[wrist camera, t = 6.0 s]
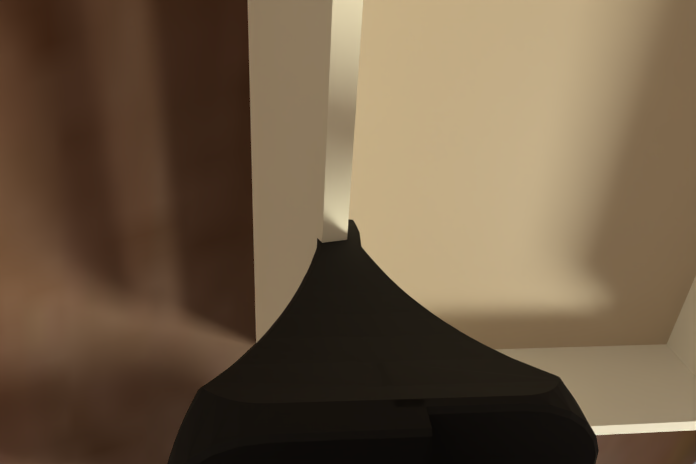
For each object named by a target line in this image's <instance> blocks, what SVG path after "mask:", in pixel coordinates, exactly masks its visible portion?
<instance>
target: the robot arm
mask: <svg viewBox="0 0 696 464" xmlns="http://www.w3.org/2000/svg"><path fill="white" fill-rule="evenodd" d="M597 455H598V445H597V438H596V435H595V433H594V431H593V429H592V428H591V426H590V424H589V423H588V421H587V419H586V417H585V415H584V414H583V412H582V410H581V408H580V407H579V405H578V403H577V402H576V400H575V398H574V397H573V396H572V394H571V393H570V391H569V390H568V388H567V387H566V386H565V384H564V383H563V381H562V380H561V378H560V377H559V376H556V375H554V374H551V373H549V372H546V371H544V370H541V369H538V368H536V367H533V366H531V365H528V364H526V363H523V362H521V361H518V360H516V359H513V358H511V357H509V356H507V355H505V354H503V353H500V352H498V351H496V350H494V349H492V348H490V347H488V346H486V345H484V344H482V343H480V342H478V341H477V340H475V339H473V338H471V337H469V336H468V335H466V334H464V333H462V332H461V331H459V330H458V329H456V328H454V327H453V326H451V325H449V324H448V323H446V322H445V321H443V320H441V319H440V318H439V317H437V316H436V315H434V314H433V313H431V312H430V311H429V310H427V309H426V308H425V307H423V306H422V305H421V304H419V303H418V302H417V301H416V300H414V299H413V298H412V297H410V296H409V295H408V294H407V293H406V292H404V291H403V290H402V289H401V288H400V287H399V286H398V285H397V284H396V283H395V282H394V281H392V280H391V279H390V278H389V277H388V276H387V275H386V274H385V273H384V272H383V270H382V269H381V268H380V267H379V266H378V265H377V264H376V263H375V262H374V261H373V259H372V258H371V257H370V256H369V255H368V254H367V253H366V251H365V250H364V249H363V248H362V246H361V239H360V232H359V230H358V228H357V226H356V224H355V222H354V221H353V220H349V219H348V234H347V240H341V241H333V242H324V243H322V242H321V241H320V240H319V239H318V238H317V249H316V251H315V254H314V256H313V259H312V262H311V264H310V266H309V269H308V271H307V273H306V275H305V276H304V278H303V280H302V282H301V284H300V286H299V288H298V290H297V291H296V293H295V295H294V296H293V298H292V299H291V301H290V302H289V304H288V305H287V307H286V308H285V310H284V311H283V312H282V314H281V315H280V316H279V317H278V319H277V320H276V321H275V322H274V324H273V325H272V326H271V327H270V329H269V330H268V331H267V332H266V333H265V334H264V335H263V336H262V338H261V339H260V340H259V341H258V342H257V343H256V344H255V345H253V346H252V347H251V348H250V349H249V350H248V351H247V352H246V353H245V354H244V355H243V356H242V357H241V358H240V359H239V360H238V361H237V362H235V363H234V364H233V365H232V366H231V367H229V368H228V369H227V370H225V371H224V372H223V373H221V374H220V375H219V376H217V377H216V378H214V379H213V380H212V381H210V382H209V383H207V384H206V385H204V386H203V387H201V388H200V389H199V390H198V392H197V393H196V395H195V397H194V399H193V401H192V403H191V405H190V407H189V409H188V411H187V413H186V415H185V418H184V420H183V422H182V424H181V427H180V429H179V431H178V434H177V437H176V439H175V442H174V445H173V448H172V451H171V454H170V457H169V461H168V464H595V463H596V459H597Z"/></svg>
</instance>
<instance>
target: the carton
mask: <svg viewBox="0 0 696 464" xmlns="http://www.w3.org/2000/svg"><path fill="white" fill-rule="evenodd" d="M349 220H353V221H354V222H355V224H356V226H357V228H358V230H359V232H360V239H361V246H362V248H363V249H364V250H365V251H366V253H367V254H368V255H369V256H370V257H371V258H372V259H373V261H374V262H375V263H376V264H377V265H378V266H379V267H380V268H381V269H382V270H383V272H384V273H385V274H386V275H387V276H388V277H389V278H390V279H391V280H392V281H394V282H395V283H396V284H397V285H398V286H399V287H400V288H401V289H402V290H403V291H404V292H406V293H407V294H408V295H409V296H410V297H412V298H413V299H414V300H416V301H417V302H418V303H419V304H421V305H422V306H423V307H425V308H426V309H427V310H429V311H430V312H431V313H433V314H434V315H436V316H437V317H439V318H440V319H441V320H443V321H445V322H446V323H448V324H449V325H451V326H453V327H454V328H456V329H458V330H459V331H461V332H462V333H464V334H466V335H468V336H469V337H471V338H473V339H475V340H477V341H478V342H480V343H482V344H484V345H486V346H488V347H490V348H492V349H494V350H496V351H498V352H500V353H503V354H505V355H507V356H509V357H511V358H513V359H516V360H518V361H521V362H523V363H526V364H528V365H531V366H533V367H536V368H538V369H541V370H544V371H546V372H549V373H551V374H554V375H556V376H559V377H560V378H561V380H562V381H563V383H564V384H565V386H566V387H567V388H568V390H569V391H570V393H571V394H572V396H573V397H574V398H575V400H576V402H577V403H578V405H579V407H580V408H581V410H582V412H583V414H584V415H585V417H586V419H587V421H588V423H589V424H590V426H591V428H592V429H593V431H594V433H595V435H607V434H627V433H647V432H667V431H687V430H696V0H363V11H362V25H361V40H360V55H359V70H358V85H357V100H356V115H355V130H354V145H353V160H352V175H351V189H350V204H349Z"/></svg>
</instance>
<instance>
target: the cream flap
mask: <svg viewBox="0 0 696 464" xmlns="http://www.w3.org/2000/svg"><path fill="white" fill-rule="evenodd" d="M362 11H363V0H248V37H249V77H250V117H251V158H252V198H253V238H254V278H255V318H256V343H257V342H258V341H259V340H260V339H261V338H262V336H263V335H264V334H265V333H266V332H267V331H268V330H269V329H270V327H271V326H272V325H273V324H274V322H275V321H276V320H277V319H278V317H279V316H280V315H281V314H282V312H283V311H284V310H285V308H286V307H287V305H288V304H289V302H290V301H291V299H292V298H293V296H294V295H295V293H296V291H297V290H298V288H299V286H300V284H301V282H302V280H303V278H304V276H305V275H306V273H307V271H308V269H309V266H310V264H311V262H312V259H313V256H314V254H315V251H316V249H317V238H318V239H319V240H320V241H321V242H322V243H324V242H333V241H341V240H347V234H348V219H349V204H350V189H351V175H352V160H353V145H354V130H355V115H356V100H357V85H358V70H359V55H360V40H361V25H362Z"/></svg>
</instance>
